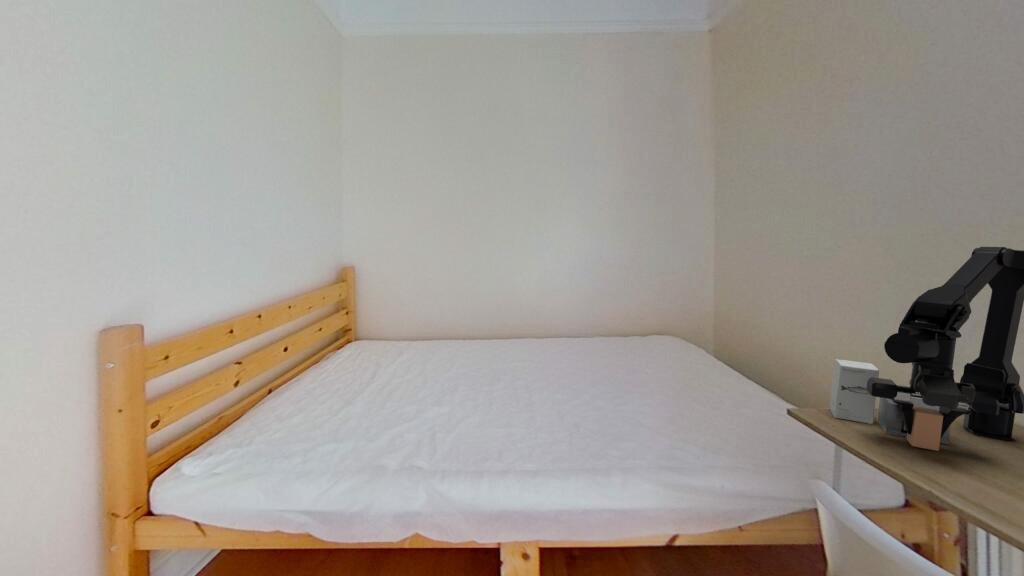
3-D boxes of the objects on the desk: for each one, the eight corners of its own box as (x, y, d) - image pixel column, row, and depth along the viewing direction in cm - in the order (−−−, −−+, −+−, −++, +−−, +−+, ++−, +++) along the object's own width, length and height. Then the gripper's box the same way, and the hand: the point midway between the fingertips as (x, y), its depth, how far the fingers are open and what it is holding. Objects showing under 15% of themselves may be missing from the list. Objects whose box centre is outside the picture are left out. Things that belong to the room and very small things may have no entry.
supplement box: (833, 418, 105) (839, 364, 103) (828, 408, 111) (834, 357, 110) (873, 425, 101) (880, 369, 100) (866, 414, 108) (872, 362, 107)
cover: (919, 428, 99) (923, 397, 99) (938, 450, 88) (943, 416, 88) (895, 424, 101) (899, 394, 100) (912, 445, 90) (916, 411, 90)
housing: (934, 430, 99) (938, 401, 99) (948, 444, 92) (952, 413, 92) (877, 420, 104) (880, 392, 103) (885, 433, 97) (889, 403, 96)
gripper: (882, 361, 87) (873, 440, 88) (1020, 378, 78) (1007, 465, 79) (870, 350, 96) (862, 421, 98) (991, 363, 88) (980, 441, 89)
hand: (923, 436), depth 91 cm, fingers closed on cover, 4 cm apart
